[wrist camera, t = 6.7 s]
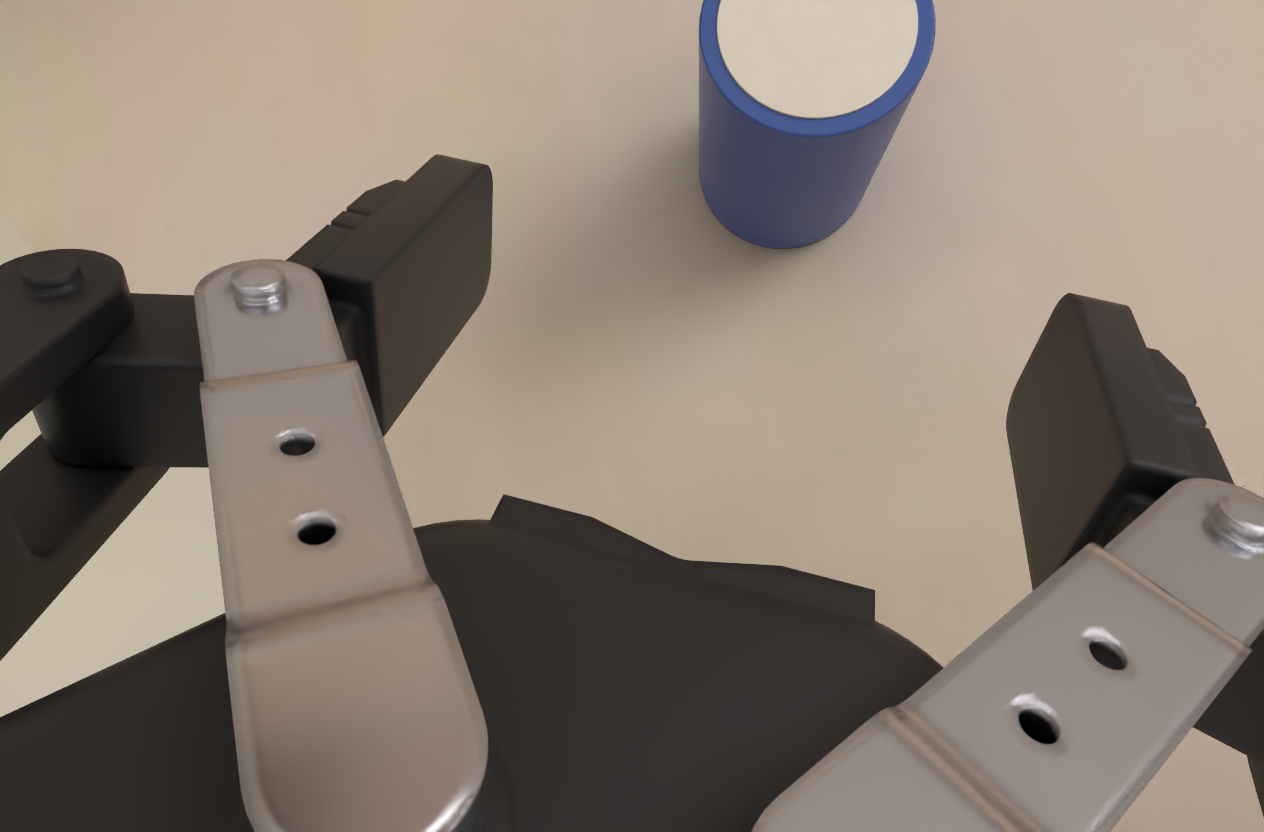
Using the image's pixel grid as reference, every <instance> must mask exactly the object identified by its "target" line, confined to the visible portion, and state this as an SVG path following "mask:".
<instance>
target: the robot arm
mask: <svg viewBox="0 0 1264 832" xmlns="http://www.w3.org/2000/svg"><path fill="white" fill-rule="evenodd" d="M492 197H493V180H492V173H491V170H490V168H489V166H488V165H485V164H480V163H475V162H471V161H466V160H462V159H457V158H452V157H448V156H443V155H438V154H437V155H435V156H433V157H432V158H431V159H430V160H429V161H428V162H427V163H426V164H424V165H423V166H422V167H421V168H420V169H419V170H418V171H417V172H416V173H415V174H414V175H412V176H411V177H410V178H409V179H408V180H407V181H406V182H404V181H400V180H394V181H392V182H389V183H387V184H384V185H381V186H379V187H376V188H373V189H371V190H368V191H366V192H365V193H363V194H362V195H361V196H360V197H359V198H358V199H356V200H355V201H354V202H353V203H352V204H351V205H350V206H348V207H347V211H346V212H345V211H343V212H341V213H340V214H339V215H338V216H337V217H336V218H335V219H333V220H332V221H331V225H326V226H325V227H324V228H323V229H322V230H321V231H320V232H318V233H317V234H316V235H315V236H314V237H313V238H311V239H310V240H309V241H308V242H307V243H306V244H304V245H303V246H302V247H301V248H300V249H299V250H298V251H296V252H295V253H294V254H293V255H292V256H291V257H289V258H288V259H287V260H286V261H283V260H273V259H260V260H249V261H242V262H238V263H233V264H230V265H227V266H224V267H221V268H219V269H217V270H215V271H213V272H211V273H210V274H208V275H207V276H205V277H204V278H203V279H202V280H201V281H200V282H199V283H198V285H197V286H196V289H195V291H194V295H163V294H137V293H130V291H129V288H128V284H127V281H126V277H125V274H124V270H123V268H122V266H121V264H120V263H119V262H118V261H117V260H115V259H114V258H112V257H111V256H108V255H106V254H103V253H99V252H96V251H90V250H83V249H57V250H48V251H42V252H36V253H32V254H28V255H25V256H22V257H19V258H15V259H13V260H11V261H8V262H6V263H4V264H2V265H0V440H1V439H2V437H3V436H4V435H5V433H6V432H7V431H8V430H9V429H10V428H12V427H13V426H14V425H15V424H16V423H17V422H19V421H20V420H21V419H22V418H23V417H24V416H25V415H27V414H28V413H29V412H30V411H31V410H32V411H33V413H34V416H35V418H36V421H37V423H38V426H39V428H40V431H41V433H42V434H41V435H39V436H38V437H37V438H36V439H35V440H34V441H33V442H32V443H31V444H29V445H28V446H27V447H26V448H25V449H24V450H23V451H22V452H21V453H20V454H18V455H17V456H16V457H15V458H14V459H13V460H12V461H11V462H10V463H8V464H7V465H6V466H5V467H4V468H3V469H2V470H1V471H0V660H1V659H2V658H3V657H4V656H5V655H6V654H7V653H8V652H9V650H10V649H11V648H12V647H13V646H14V644H16V642H17V641H18V640H19V639H20V638H21V637H22V636H23V634H24V633H25V632H26V631H27V630H28V629H29V628H30V626H31V625H32V624H33V623H34V622H35V621H36V620H37V619H38V617H39V616H40V615H41V614H42V613H43V612H44V611H45V610H46V608H47V607H48V606H49V605H50V604H51V603H52V602H53V600H54V599H55V598H56V597H57V596H58V595H59V594H60V592H61V591H62V590H63V589H64V588H65V587H66V586H67V584H68V583H69V582H70V581H71V580H72V579H73V578H74V577H75V575H76V574H77V573H78V572H79V571H80V570H81V569H82V567H83V566H84V565H85V564H86V563H87V562H88V561H89V560H90V558H91V557H92V556H93V555H94V554H95V553H96V552H97V550H98V549H99V548H100V547H101V546H102V545H103V544H104V542H105V541H106V540H107V539H108V538H109V537H110V536H111V535H112V533H113V532H114V531H115V530H116V529H117V528H118V526H119V525H120V524H121V523H122V522H123V521H124V520H125V519H126V517H127V516H128V515H129V514H130V513H131V512H132V511H133V509H134V508H135V507H136V506H137V505H138V503H140V501H141V500H142V499H143V498H144V497H145V496H146V495H147V494H148V492H149V491H150V490H151V489H152V488H153V487H154V486H155V484H156V483H157V482H158V481H159V480H160V479H161V478H162V476H163V475H164V474H165V473H166V472H167V471H168V469H169V468H170V467H209V474H210V482H211V492H212V499H213V509H214V516H215V526H216V534H217V543H218V551H219V561H220V569H221V578H222V586H223V594H224V603H225V612H226V613H224V614H222V615H219V616H217V617H215V618H213V619H211V620H209V621H206V622H204V623H202V624H200V625H198V626H196V627H194V628H191V629H189V630H187V631H185V632H183V633H181V634H179V635H176V636H174V637H173V638H170V639H168V640H166V641H163V642H162V643H159V644H157V645H155V646H153V647H151V648H149V649H146V650H144V651H142V652H140V653H138V654H136V655H133V656H131V657H129V658H127V659H125V660H123V661H121V662H118V663H116V664H114V665H112V666H110V667H107V668H106V669H103V670H101V671H99V672H97V673H95V674H92V675H90V676H88V677H86V678H84V679H82V680H80V681H77V682H75V683H73V684H71V685H69V686H67V687H65V688H62V689H60V690H58V691H56V692H54V693H52V694H49V695H47V696H45V697H43V698H41V699H39V700H37V701H35V702H33V703H30V704H28V705H26V706H24V707H21V708H19V709H17V710H15V711H13V712H11V713H9V714H6V715H4V716H2V717H0V832H1110V831H1111V830H1112V829H1113V827H1114V826H1115V825H1116V824H1117V822H1118V821H1119V820H1120V818H1121V817H1122V816H1123V815H1124V813H1125V812H1126V811H1127V810H1128V808H1129V807H1130V806H1131V804H1132V803H1133V802H1134V801H1135V799H1136V798H1137V797H1138V796H1139V794H1140V793H1141V792H1142V791H1143V789H1144V788H1145V787H1146V785H1147V784H1148V783H1149V782H1150V780H1151V779H1152V778H1153V777H1154V775H1155V774H1156V773H1157V771H1158V770H1159V769H1160V768H1161V766H1162V765H1163V764H1164V763H1165V761H1166V760H1167V759H1168V757H1169V756H1170V755H1171V754H1172V752H1173V751H1174V750H1175V749H1176V747H1177V746H1178V745H1179V743H1180V742H1181V741H1182V740H1183V738H1184V737H1185V736H1186V735H1187V733H1188V732H1189V731H1190V729H1191V728H1192V727H1194V728H1196V729H1198V730H1199V731H1201V732H1203V733H1205V734H1207V735H1209V736H1211V737H1213V738H1215V739H1217V740H1219V741H1221V742H1222V743H1224V744H1226V745H1228V746H1230V747H1232V748H1234V749H1236V750H1238V751H1240V752H1242V753H1243V754H1245V755H1247V757H1248V763H1249V767H1250V770H1251V774H1252V777H1253V781H1254V784H1255V788H1256V792H1257V795H1258V799H1259V802H1260V806H1261V809H1262V813H1263V816H1264V498H1262V497H1260V496H1259V495H1257V494H1255V493H1253V492H1251V491H1248V490H1246V489H1244V488H1242V487H1239V486H1236V485H1234V482H1233V480H1232V478H1231V476H1230V474H1229V471H1228V469H1227V467H1226V465H1225V463H1224V460H1223V458H1222V456H1221V454H1220V452H1219V450H1218V447H1217V445H1216V443H1215V441H1214V439H1213V436H1212V434H1211V432H1210V430H1209V429H1208V428H1205V425H1206V421H1205V419H1204V417H1203V415H1202V412H1201V410H1200V408H1199V407H1196V403H1197V401H1196V399H1195V397H1194V395H1193V393H1192V390H1191V388H1190V386H1189V384H1188V382H1187V380H1186V377H1185V376H1184V375H1183V374H1182V373H1181V372H1180V371H1179V370H1178V369H1177V368H1176V367H1175V366H1174V365H1173V364H1172V363H1171V362H1170V361H1169V360H1168V359H1167V358H1166V357H1165V356H1164V355H1163V354H1162V353H1161V352H1160V351H1159V350H1155V349H1150V348H1147V347H1146V345H1145V343H1144V340H1143V338H1142V335H1141V333H1140V331H1139V328H1138V326H1137V323H1136V321H1135V319H1134V316H1133V314H1132V311H1131V309H1130V308H1129V307H1128V306H1126V305H1122V304H1118V303H1113V302H1108V301H1104V300H1099V299H1095V298H1090V297H1085V296H1081V295H1076V294H1072V293H1068V294H1066V295H1064V296H1063V297H1062V298H1061V300H1060V301H1059V302H1058V304H1057V305H1056V307H1055V309H1054V310H1053V312H1052V314H1051V316H1050V318H1049V320H1048V322H1047V324H1046V326H1045V328H1044V330H1043V332H1042V334H1041V336H1040V338H1039V340H1038V342H1037V344H1036V346H1035V348H1034V350H1033V352H1032V354H1031V356H1030V358H1029V360H1028V362H1027V364H1026V366H1025V368H1024V370H1023V372H1022V374H1021V376H1020V378H1019V380H1018V382H1017V384H1016V386H1015V388H1014V391H1013V393H1012V396H1011V399H1010V403H1009V407H1008V412H1007V420H1006V430H1007V437H1008V443H1009V449H1010V455H1011V461H1012V467H1013V473H1014V479H1015V485H1016V491H1017V497H1018V504H1019V510H1020V516H1021V522H1022V528H1023V534H1024V540H1025V546H1026V552H1027V558H1028V564H1029V570H1030V576H1031V583H1032V589H1033V592H1031V593H1030V594H1029V595H1028V596H1027V597H1026V598H1024V599H1023V600H1022V601H1021V602H1020V603H1019V604H1017V605H1016V606H1015V607H1014V608H1013V609H1012V610H1010V611H1009V612H1008V613H1007V614H1006V615H1005V616H1003V617H1002V618H1001V619H1000V620H999V621H998V622H997V623H995V624H994V625H993V626H992V627H991V628H990V629H988V630H987V631H986V632H985V633H984V634H983V635H981V636H980V637H979V638H978V639H977V640H976V641H974V642H973V643H972V644H971V645H970V646H969V647H967V648H966V649H965V650H964V651H963V652H962V653H960V654H959V655H958V656H957V657H956V658H955V659H953V660H952V661H951V662H950V663H949V664H948V665H946V666H945V667H944V668H943V667H942V666H941V665H940V664H939V663H938V662H936V661H935V660H934V659H933V658H932V657H931V656H930V655H928V654H927V653H926V652H925V651H923V650H922V649H921V648H919V647H918V646H916V645H915V644H914V643H912V642H911V641H910V640H908V639H907V638H905V637H903V636H902V635H900V634H898V633H897V632H895V631H893V630H892V629H890V628H888V627H887V626H885V625H883V624H881V623H879V622H877V621H875V590H872V589H868V588H864V587H861V586H857V585H853V584H849V583H845V582H841V581H837V580H833V579H830V578H826V577H822V576H818V575H814V574H810V573H806V572H802V571H799V570H795V569H791V568H787V567H783V566H774V565H757V564H739V563H722V562H705V561H689V560H683V559H679V558H676V557H673V556H671V555H669V554H667V553H665V552H663V551H661V550H658V549H656V548H654V547H652V546H650V545H648V544H646V543H644V542H642V541H640V540H638V539H636V538H634V537H632V536H630V535H628V534H625V533H623V532H621V531H619V530H617V529H615V528H613V527H611V526H609V525H607V524H605V523H603V522H601V521H599V520H597V519H595V518H593V517H589V516H585V515H582V514H578V513H574V512H570V511H566V510H562V509H558V508H555V507H551V506H547V505H543V504H539V503H535V502H531V501H527V500H524V499H520V498H516V497H512V496H508V495H504V494H503V496H502V498H501V500H500V502H499V504H498V506H497V508H496V510H495V512H494V514H493V516H492V518H491V520H478V519H477V520H456V521H448V522H441V523H434V524H430V525H426V526H422V527H417V528H413V527H412V524H411V521H410V518H409V515H408V512H407V509H406V506H405V503H404V500H403V497H402V494H401V491H400V488H399V485H398V482H397V479H396V476H395V473H394V470H393V467H392V463H391V460H390V457H389V454H388V451H387V448H386V445H385V442H384V439H383V437H384V436H385V434H386V433H387V432H388V430H389V429H390V428H391V426H392V425H393V423H394V422H395V421H396V419H397V418H398V416H399V415H400V414H401V412H402V411H403V410H404V408H405V407H406V405H407V404H408V403H409V401H410V400H411V399H412V397H413V396H414V394H415V393H416V392H417V390H418V389H419V388H420V386H421V385H422V383H423V382H424V381H425V379H426V378H427V377H428V375H429V374H430V372H431V371H432V370H433V368H434V367H435V365H436V364H437V363H438V361H439V360H440V359H441V357H442V356H443V354H444V353H445V352H446V350H447V349H448V348H449V346H450V345H451V343H452V342H453V341H454V339H455V338H456V337H457V335H458V334H459V332H460V331H461V330H462V328H463V327H464V325H465V324H466V323H467V321H468V320H469V319H470V317H471V316H472V314H473V313H474V312H475V310H476V309H477V308H478V306H479V305H480V303H481V301H482V299H483V297H484V295H485V292H486V289H487V285H488V281H489V277H490V270H491V246H492Z"/></svg>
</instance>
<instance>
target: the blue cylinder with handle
mask: <svg viewBox="0 0 1264 832" xmlns="http://www.w3.org/2000/svg"><path fill="white" fill-rule="evenodd" d="M934 39H935V13H934V5H933V2H932V0H704V1H703V4H702V8H701V14H700V21H699V171H700V182H701V186H702V191H703V194H704V196H705V199H706V201H707V203H708V205H709V207H710V209H711V211H712V212H713V213H714V215H715V216H716V217H717V219H718V220H719V221H720V222H721V223H722V224H723V225H724V226H725V227H726V228H727V229H729V230H730V231H731V232H732V233H734V234H735V235H737V236H739V237H740V238H742V239H744V240H746V241H749V242H751V243H753V244H757V245H760V246H764V247H770V248H784V249H786V248H797V247H801V246H806V245H809V244H812V243H815V242H817V241H820V240H821V239H823V238H825V237H827V236H829V235H830V234H832V233H833V232H835V231H836V230H838V229H839V228H840V227H841V226H842V225H843V224H844V223H845V222H846V221H847V220H848V219H849V218H850V216H851V215H852V214H853V212H854V211H855V209H856V208H857V206H858V205H859V203H860V201H861V198H862V196H863V194H864V192H865V190H866V188H867V186H868V184H869V182H870V180H871V178H872V176H873V174H874V172H875V170H876V168H877V166H878V164H879V162H880V160H881V158H882V156H883V154H884V152H885V150H886V148H887V146H888V144H889V142H890V140H891V138H892V136H893V134H894V132H895V130H896V128H897V126H898V124H899V122H900V120H901V118H902V116H903V114H904V112H905V110H906V108H907V106H908V104H909V102H910V100H911V98H912V96H913V94H914V92H915V90H916V88H917V86H918V84H919V82H920V80H921V78H922V76H923V74H924V72H925V69H926V67H927V65H928V63H929V60H930V57H931V53H932V50H933V45H934Z"/></svg>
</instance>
